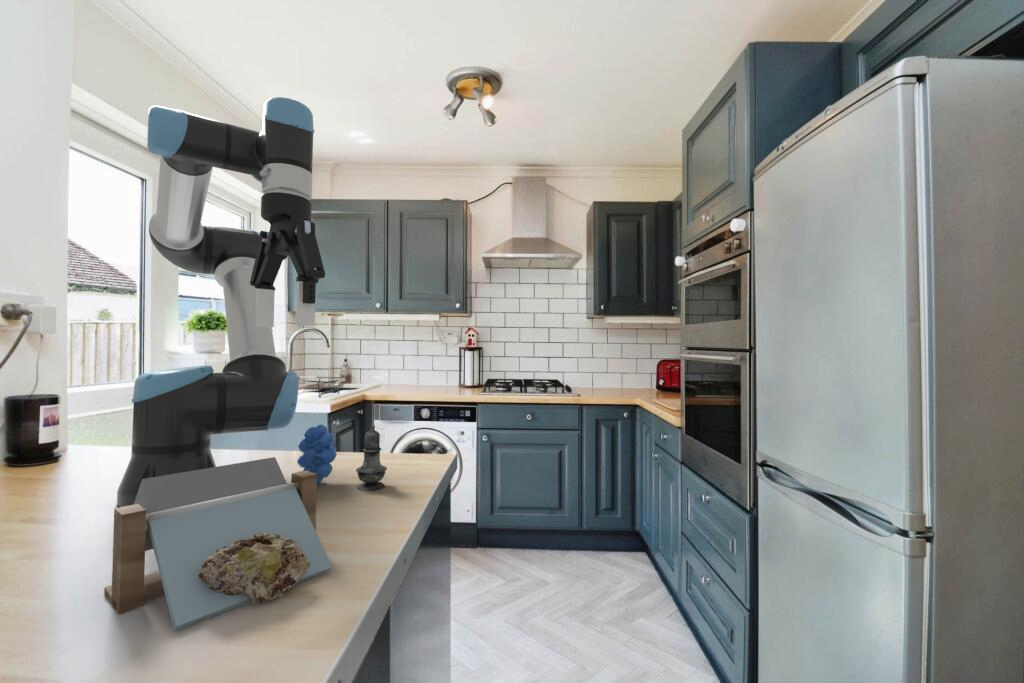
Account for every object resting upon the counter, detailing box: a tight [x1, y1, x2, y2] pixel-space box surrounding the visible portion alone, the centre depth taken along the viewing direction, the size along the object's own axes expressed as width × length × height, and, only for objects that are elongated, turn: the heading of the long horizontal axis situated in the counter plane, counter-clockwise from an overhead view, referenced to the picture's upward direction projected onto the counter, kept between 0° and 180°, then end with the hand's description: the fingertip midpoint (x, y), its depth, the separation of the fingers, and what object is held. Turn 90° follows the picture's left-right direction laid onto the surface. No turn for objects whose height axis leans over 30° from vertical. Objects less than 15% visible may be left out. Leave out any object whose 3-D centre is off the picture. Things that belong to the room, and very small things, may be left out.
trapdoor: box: [134, 456, 333, 631], centre depth 57 cm, size 18×16×8 cm
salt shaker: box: [355, 425, 388, 492], centre depth 93 cm, size 6×6×12 cm
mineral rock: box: [198, 532, 311, 605], centre depth 52 cm, size 11×4×8 cm
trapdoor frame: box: [103, 470, 318, 615], centre depth 58 cm, size 6×21×10 cm, turn 142°
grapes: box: [296, 424, 338, 485], centre depth 95 cm, size 12×7×12 cm, turn 53°
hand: (283, 326), depth 77 cm, fingers open, 13 cm apart
